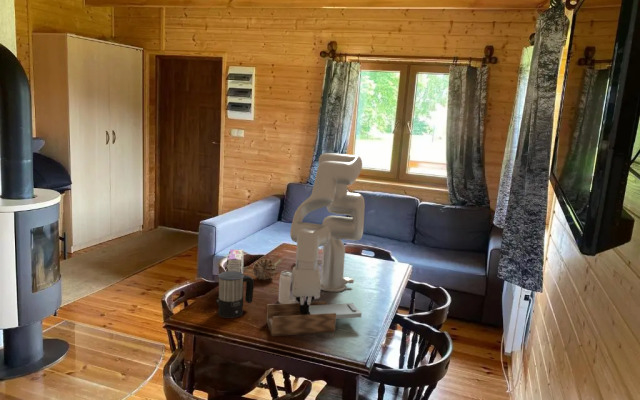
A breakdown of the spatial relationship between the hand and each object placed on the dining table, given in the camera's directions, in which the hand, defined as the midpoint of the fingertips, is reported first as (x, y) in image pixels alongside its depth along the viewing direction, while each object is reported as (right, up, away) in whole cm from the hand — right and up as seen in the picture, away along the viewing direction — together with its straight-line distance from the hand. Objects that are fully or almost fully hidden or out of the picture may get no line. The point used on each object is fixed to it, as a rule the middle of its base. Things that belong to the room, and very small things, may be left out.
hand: (303, 314), depth 171 cm
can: (-8, -1, +22) cm, 24 cm away
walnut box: (-1, -5, +1) cm, 5 cm away
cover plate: (+10, 0, +3) cm, 11 cm away
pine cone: (-18, +5, +50) cm, 53 cm away
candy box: (-29, +2, +29) cm, 42 cm away
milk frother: (-29, -1, +12) cm, 31 cm away
